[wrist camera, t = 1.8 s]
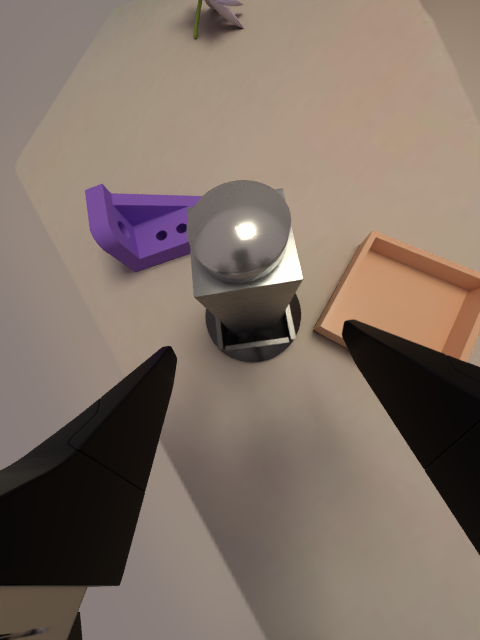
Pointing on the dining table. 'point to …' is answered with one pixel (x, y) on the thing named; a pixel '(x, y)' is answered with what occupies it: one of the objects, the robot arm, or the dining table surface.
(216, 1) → the water lily
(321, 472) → the dining table surface
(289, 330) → the socket cup
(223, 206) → the strut
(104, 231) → the bracket
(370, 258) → the tray
